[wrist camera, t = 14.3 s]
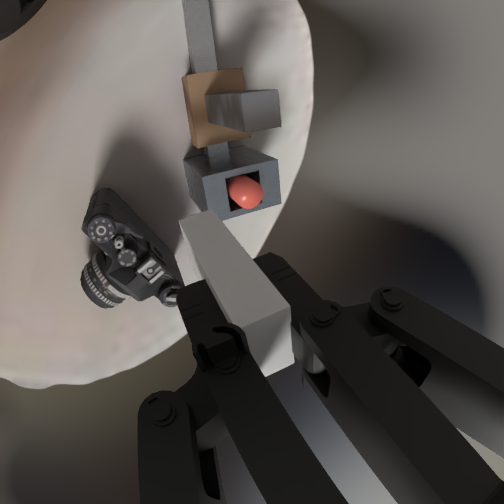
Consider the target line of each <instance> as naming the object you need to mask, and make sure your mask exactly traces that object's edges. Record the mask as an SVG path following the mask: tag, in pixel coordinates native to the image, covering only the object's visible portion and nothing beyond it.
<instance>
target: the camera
mask: <svg viewBox="0 0 504 504" xmlns="http://www.w3.org/2000/svg"><path fill="white" fill-rule="evenodd" d="M82 231H83V232H84V233H85V234H86V235H87V236H88V237H89V238H90V239H91V240H92V241H93V242H94V243H95V244H97V245H98V246H99V247H100V248H101V250H100V251H97V252H96V253H95V254H94V255H93V256H92V259H91V261H90V262H88V263H87V264H86V265H85V266H84V269H83V271H82V274H81V275H82V276H81V279H80V280H81V286H82V288H83V290H84V292H85V293H86V295H87V296H88V297H89V299H90V300H91V301H92V302H94V303H95V304H96V305H98V306H99V307H102V308H113V307H114V306H118V305H119V304H120V303H122V301H123V300H125V299H128V298H130V297H131V296H132V297H133V298H134V299H136V300H137V301H143V300H145V299H147V298H149V297H151V296H153V295H154V296H155V297H157V298H158V299H159V300H160V301H161V303H162V304H164V305H165V306H168V307H175V306H177V302H176V297H177V292H178V289H179V288H182V287H185V285H184V282H183V279H182V276H181V273H180V271H179V268H178V265H177V262H176V259H175V257H174V255H173V253H172V251H171V250H170V249H169V248H168V247H167V246H166V245H165V244H164V243H163V242H162V241H161V240H160V239H159V238H158V237H157V236H156V235H155V234H154V233H153V232H152V231H151V230H150V229H149V228H148V227H147V225H145V224H144V223H143V221H142V220H141V219H140V218H139V217H138V216H137V215H136V214H135V212H134V211H133V210H132V209H131V208H130V207H129V206H128V205H127V204H126V203H125V202H124V201H123V200H122V199H121V198H120V197H119V196H118V195H117V194H116V193H115V192H114V191H113V190H111V189H102V190H99V191H98V192H97V193H96V194H95V195H94V196H93V197H92V198H91V200H90V203H89V206H88V209H87V213H86V215H85V217H84V221H83V225H82Z"/></svg>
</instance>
